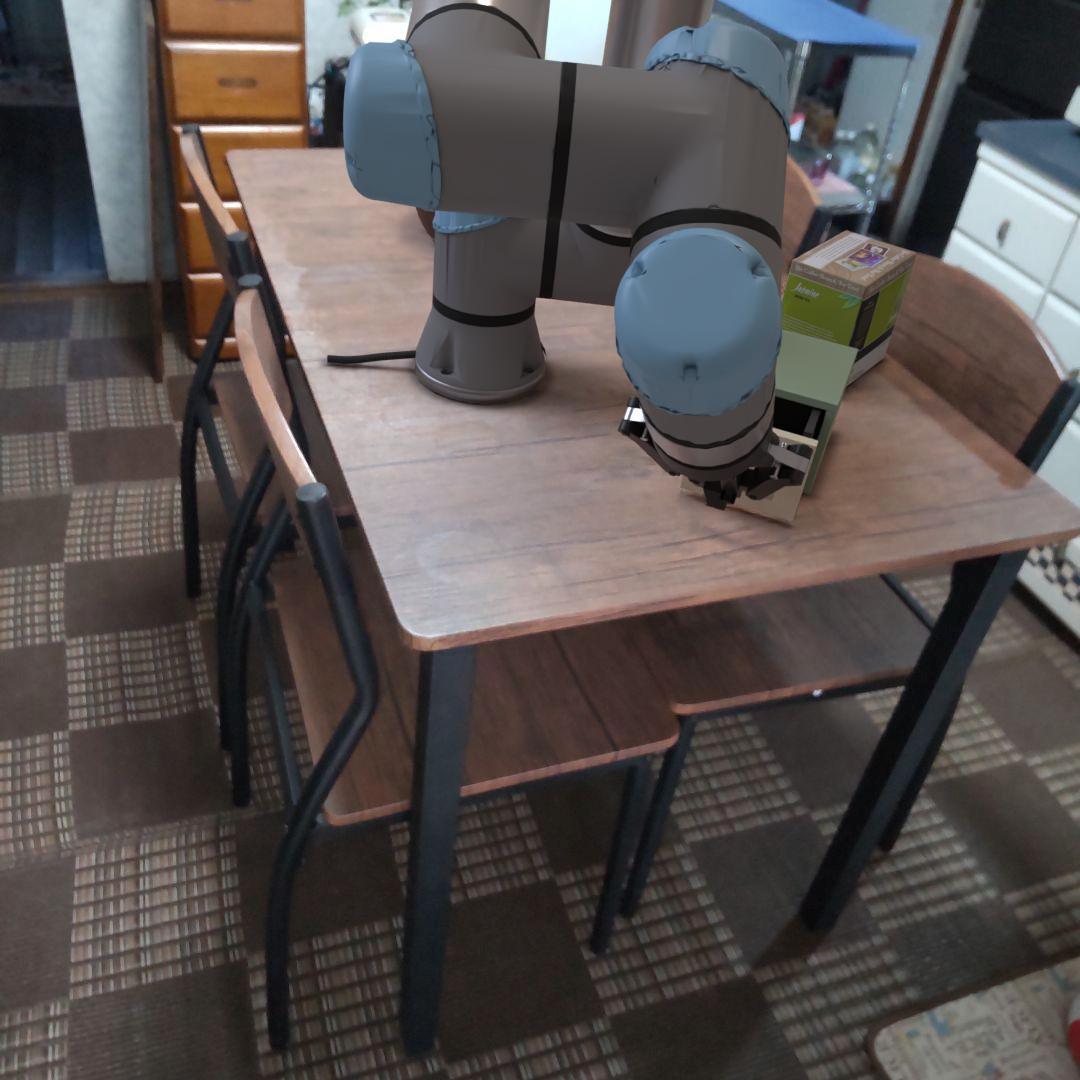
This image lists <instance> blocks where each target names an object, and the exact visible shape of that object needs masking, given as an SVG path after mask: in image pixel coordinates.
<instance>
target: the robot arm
mask: <svg viewBox="0 0 1080 1080" xmlns="http://www.w3.org/2000/svg"><path fill="white" fill-rule="evenodd" d="M715 1H716V0H610V5H609V6H610V7H609V12H608V13H609V14H608V21H607V28H606V33H605V34H606V35H605V41H604V49H603V56H602V62H601V65H600V64H592V63H582V62H572V61H559V60H551V59H546V52H547V51H546V50H547V41H548V32H549V31H548V28H549V19H550V9H551V0H413V4H412V7H411V8H412V9H411V13H410V17H409V22H408V24H407V25H408V26H407V31H406V35H405V39H401V38H400V39H399V38H397V39H396V40H394V41H392V42H383V41H382V42H379V41H369V42H367V43H364V44H362V45H360V46H358V47H357V48H356V49H355V51H354V52H353V54H352V56H351V57H350V60H349V64H348V68H347V72H346V78H345V83H344V84H345V85H344V94H343V95H344V96H343V112H342V113H343V116H342V117H343V118H342V126H343V127H342V129H343V131H342V132H343V133H342V135H343V150H344V160H345V167H346V171H347V175H348V178H349V181H350V183H351V185H352V187H353V188H354V189H355V191H356V192H357V193H358V194H360V195H361V196H362V197H364V198H366V199H368V200H371V201H378V202H383V203H390V204H395V205H396V204H397V205H401V206H407V207H414V208H416V207H418V208H421V209H423V210H424V211H432V212H435V217H434V219H433V228H434V230H435V239H433V240H434V241H433V242H434V243H433V244H434V245H433V271H432V301H431V308H430V312H429V314H428V316H427V319H426V321H425V325H424V327H423V329H422V332H421V335H420V338H419V340H418V343H417V345H416V348H415V350H402V351H401V350H400V351H399V350H398V351H388V352H387V351H386V352H377V353H369V354H368V353H367V354H361V355H335V354H334V355H333V354H327V355H326V362H327V364H340V365H356V364H365V363H373V362H384V361H395V360H396V361H397V360H409V359H410V360H411V359H414V372H415V375H416V377H417V379H418V380H419V381H420V383H421V384H422V385H423V386H425V387H426V388H427V389H428V390H431V391H432V392H434V393H436V394H438V395H440V396H443V397H445V398H448V399H452V400H455V401H460V402H465V403H471V404H483V405H484V404H487V405H488V404H503V403H508V402H513V401H514V402H515V401H518V400H520V399H523V398H525V397H528V396H529V395H531V394H533V393H534V392H535V391H537V390H538V389H539V388H540V387H541V385H542V384H543V382H544V378H545V371H546V370H545V369H546V361H545V357H546V358H547V357H548V356H547V352H546V348H545V346H544V344H543V342H542V341H541V338H540V332H539V328H538V325H537V321H536V315H535V312H536V302H537V299H543V300H545V299H546V300H555V301H562V302H563V301H564V302H572V303H579V304H580V303H581V304H588V305H598V306H605V307H613V320H614V325H615V327H614V328H615V348H616V354H617V355H618V356H619V357H620V359H621V360H622V362H621V367H622V370H623V371H624V372H625V373H626V376H627V379H628V380H629V382H630V383H631V384H632V387H633V388H634V391H635V393H636V395H637V396H629V397H628V400H627V403H626V406H625V409H624V411H623V414H622V417H621V420H620V422H619V425H618V428H617V431H618V433H620V434H621V435H622V436H624V437H627V438H628V439H630V440H631V441H633V442H635V444H636V445H638V446H639V447H640V449H642V450H643V452H645V454H647V455H648V456H649V457H650V458H651V459H652V461H654V462H655V464H657V465H658V466H659V467H660V468H661V469H662V470H663V471H664V472H665V473H667V474H668V475H669V476H671V477H680V476H681V475H682V477H683V476H686V477H688V480H689V481H690V482H692V483H693V484H694V485H695V486H698V487H701V488H703V491H704V495H703V496H704V500H705V504H706V506H707V507H710V508H713V509H715V510H720V511H723V512H725V510H726V507H727V504H728V505H735V504H734V503H735V500H736V498H740V496H741V493H742V491H743V490H745V491H746V494H745V495H746V496H747V497H749V499H751V500H762V499H764V498H765V497H767V496H769V495H771V494H772V493H774V492H776V491H778V490H780V489H781V488H783V487H785V486H801V485H802V482H803V480H804V477H805V474H806V471H807V468H808V465H809V462H810V459H811V456H812V453H813V449H812V448H810V447H809V446H808V445H805V444H794V445H789V444H787V443H781V445H780V446H779V444H780V440H779V437H778V435H777V434H776V433H775V432H773V431H772V430H773V417H774V400H775V388H776V380H775V371H776V363H777V356H778V355H779V352H780V348H781V342H782V329H781V326H782V314H783V306H782V299H783V298H782V282H783V281H782V280H783V259H784V254H783V250H782V248H783V247H782V244H783V243H782V240H783V239H782V238H783V224H784V223H783V222H784V210H785V208H784V207H785V195H786V183H787V182H786V181H787V180H786V179H787V168H788V167H787V166H788V153H789V152H788V151H789V148H790V144H791V140H792V139H791V137H792V136H791V135H792V133H791V128H790V127H791V126H790V125H791V123H790V120H789V118H790V116H789V115H790V114H789V113H790V110H789V109H790V107H789V106H790V105H789V101H790V99H789V98H790V96H789V95H790V94H789V93H790V92H789V89H790V88H789V85H788V71H787V70H788V69H787V66H786V63H785V60H784V57H783V55H782V53H781V51H780V49H779V48H778V47H777V46H776V44H775V43H774V42H773V41H772V40H771V39H770V38H769V37H768V36H766V35H765V34H763V33H762V32H760V31H759V30H757V29H755V28H753V27H750V26H749V25H745V24H741V23H738V22H734V21H727V20H726V21H725V20H711V16H712V13H713V9H714V5H715ZM750 467H755V468H754V469H749V468H750Z"/></svg>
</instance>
